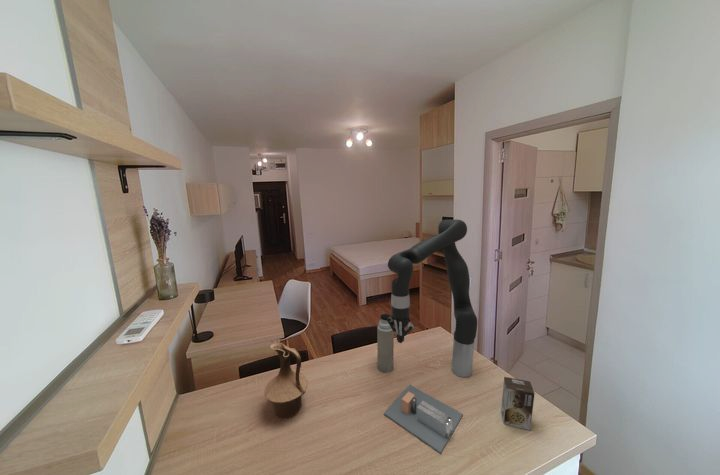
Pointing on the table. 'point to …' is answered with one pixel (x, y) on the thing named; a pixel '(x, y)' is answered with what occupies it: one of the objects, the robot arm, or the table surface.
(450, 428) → the bar
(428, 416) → the jaw
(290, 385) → the pitcher
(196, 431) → the table surface
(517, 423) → the coffee box
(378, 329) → the thermos bottle
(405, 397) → the block
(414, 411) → the post
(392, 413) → the slate board
